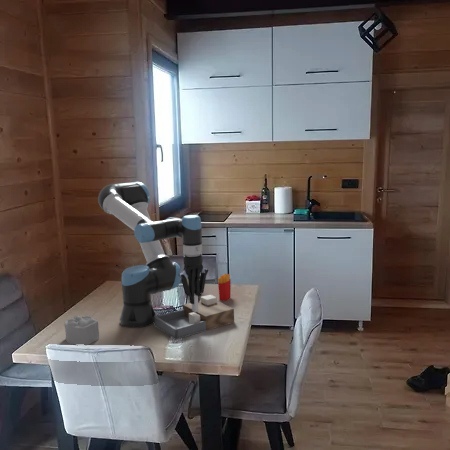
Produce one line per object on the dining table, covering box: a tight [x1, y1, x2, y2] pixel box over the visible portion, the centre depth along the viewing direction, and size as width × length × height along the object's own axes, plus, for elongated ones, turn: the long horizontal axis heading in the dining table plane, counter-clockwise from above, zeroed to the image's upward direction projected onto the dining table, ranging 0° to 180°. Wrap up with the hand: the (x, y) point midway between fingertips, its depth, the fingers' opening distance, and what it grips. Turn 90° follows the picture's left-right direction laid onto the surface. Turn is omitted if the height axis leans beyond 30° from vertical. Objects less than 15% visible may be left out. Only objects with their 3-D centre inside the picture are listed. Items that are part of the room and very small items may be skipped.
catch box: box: [153, 308, 207, 340], centre depth 202 cm, size 14×18×4 cm
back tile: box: [200, 294, 218, 305], centre depth 214 cm, size 5×5×2 cm
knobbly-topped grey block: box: [64, 314, 100, 346], centre depth 194 cm, size 10×13×9 cm
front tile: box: [189, 312, 200, 325], centre depth 201 cm, size 5×5×2 cm
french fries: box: [217, 273, 232, 302], centre depth 236 cm, size 8×4×12 cm, turn 148°
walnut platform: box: [182, 299, 235, 331], centre depth 210 cm, size 14×18×6 cm
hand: (195, 310), depth 201 cm, fingers closed
